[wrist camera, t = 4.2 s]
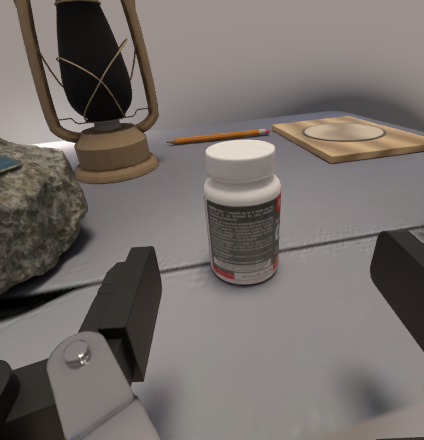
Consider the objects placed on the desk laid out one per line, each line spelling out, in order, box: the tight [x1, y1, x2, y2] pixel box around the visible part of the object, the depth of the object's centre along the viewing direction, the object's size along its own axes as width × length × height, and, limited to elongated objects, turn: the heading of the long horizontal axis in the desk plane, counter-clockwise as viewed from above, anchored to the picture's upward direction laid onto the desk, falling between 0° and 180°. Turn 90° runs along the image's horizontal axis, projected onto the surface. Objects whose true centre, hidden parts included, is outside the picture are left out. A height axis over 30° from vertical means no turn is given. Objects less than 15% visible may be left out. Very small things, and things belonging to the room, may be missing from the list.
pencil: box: [166, 129, 270, 144], centre depth 52 cm, size 1×1×19 cm
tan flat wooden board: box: [272, 116, 424, 164], centre depth 47 cm, size 16×22×1 cm
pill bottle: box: [204, 140, 281, 284], centre depth 18 cm, size 5×5×8 cm
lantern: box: [13, 0, 159, 184], centre depth 35 cm, size 14×12×30 cm
